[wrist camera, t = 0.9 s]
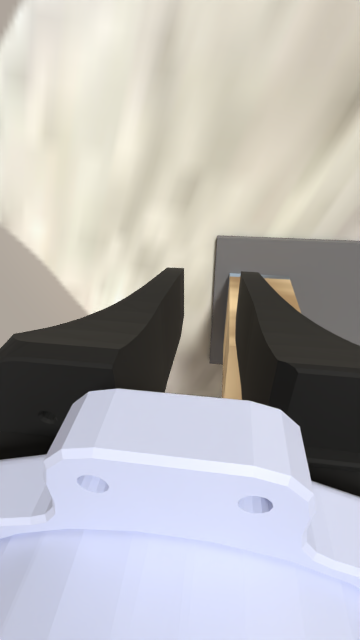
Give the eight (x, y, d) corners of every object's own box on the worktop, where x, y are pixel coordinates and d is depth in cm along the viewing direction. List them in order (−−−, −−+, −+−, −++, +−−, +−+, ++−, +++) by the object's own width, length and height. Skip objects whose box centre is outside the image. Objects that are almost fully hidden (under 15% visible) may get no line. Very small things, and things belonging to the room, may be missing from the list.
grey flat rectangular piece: (463, 245, 20) (467, 247, 19) (395, 375, 26) (398, 378, 26) (217, 235, 21) (217, 237, 21) (209, 360, 27) (209, 363, 27)
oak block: (288, 276, 22) (314, 352, 15) (274, 344, 25) (290, 430, 19) (229, 273, 22) (229, 345, 16) (223, 340, 26) (221, 423, 19)
